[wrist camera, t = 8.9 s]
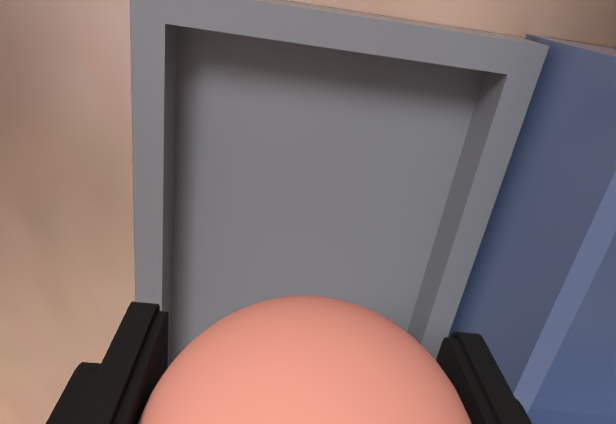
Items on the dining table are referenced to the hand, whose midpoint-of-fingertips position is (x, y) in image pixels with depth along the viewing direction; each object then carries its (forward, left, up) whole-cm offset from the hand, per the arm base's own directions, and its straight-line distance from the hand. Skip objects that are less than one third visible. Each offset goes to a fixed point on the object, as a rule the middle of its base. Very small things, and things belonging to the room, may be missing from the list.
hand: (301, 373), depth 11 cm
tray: (0, 0, -6) cm, 6 cm away
